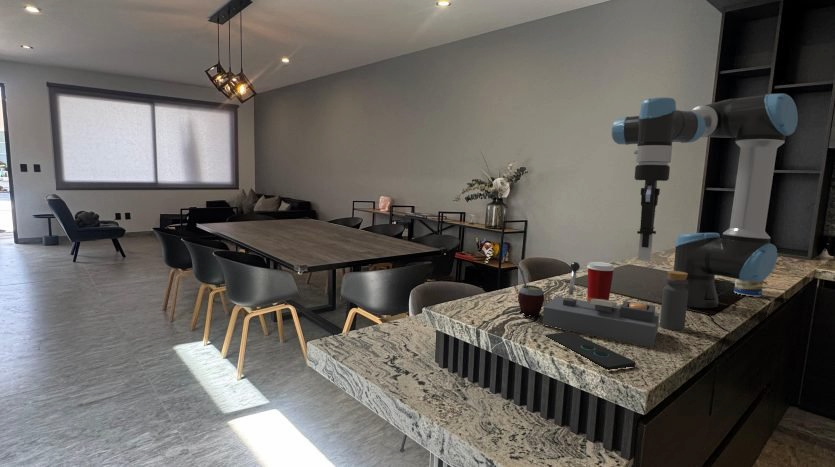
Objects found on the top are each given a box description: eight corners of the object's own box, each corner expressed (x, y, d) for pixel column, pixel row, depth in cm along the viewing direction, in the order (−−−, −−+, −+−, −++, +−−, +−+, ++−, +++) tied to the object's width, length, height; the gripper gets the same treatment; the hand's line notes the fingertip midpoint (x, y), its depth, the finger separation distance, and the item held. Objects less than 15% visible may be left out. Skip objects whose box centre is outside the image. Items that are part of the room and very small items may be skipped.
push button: (629, 310, 118) (630, 301, 117) (646, 313, 115) (647, 304, 115) (627, 314, 114) (628, 305, 114) (645, 317, 112) (646, 308, 112)
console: (556, 313, 132) (558, 287, 131) (657, 331, 119) (660, 303, 118) (542, 325, 120) (544, 297, 120) (653, 347, 107) (656, 316, 106)
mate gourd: (547, 315, 130) (550, 263, 128) (533, 321, 124) (537, 266, 122) (523, 309, 135) (527, 259, 133) (509, 315, 129) (512, 262, 127)
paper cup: (611, 308, 140) (615, 263, 138) (610, 315, 133) (614, 267, 131) (584, 304, 143) (587, 260, 141) (581, 310, 136) (585, 264, 134)
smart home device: (607, 366, 92) (543, 334, 110) (606, 374, 92) (542, 341, 110) (637, 361, 95) (571, 330, 113) (636, 369, 95) (570, 337, 113)
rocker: (596, 303, 124) (597, 298, 124) (616, 306, 122) (617, 301, 122) (590, 303, 116) (590, 298, 116) (611, 307, 113) (612, 301, 113)
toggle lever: (567, 294, 125) (572, 262, 127) (576, 295, 124) (581, 263, 125) (565, 293, 123) (570, 260, 125) (574, 294, 122) (579, 261, 123)
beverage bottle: (760, 294, 167) (767, 239, 165) (763, 299, 160) (770, 242, 158) (732, 290, 172) (739, 237, 169) (733, 294, 164) (740, 239, 162)
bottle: (687, 331, 120) (694, 275, 118) (663, 329, 121) (669, 273, 119) (679, 324, 126) (685, 271, 124) (656, 322, 127) (662, 269, 125)
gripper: (638, 164, 119) (630, 254, 122) (632, 163, 108) (624, 262, 111) (671, 165, 115) (662, 257, 118) (669, 163, 104) (659, 265, 107)
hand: (644, 259), depth 115 cm, fingers closed
